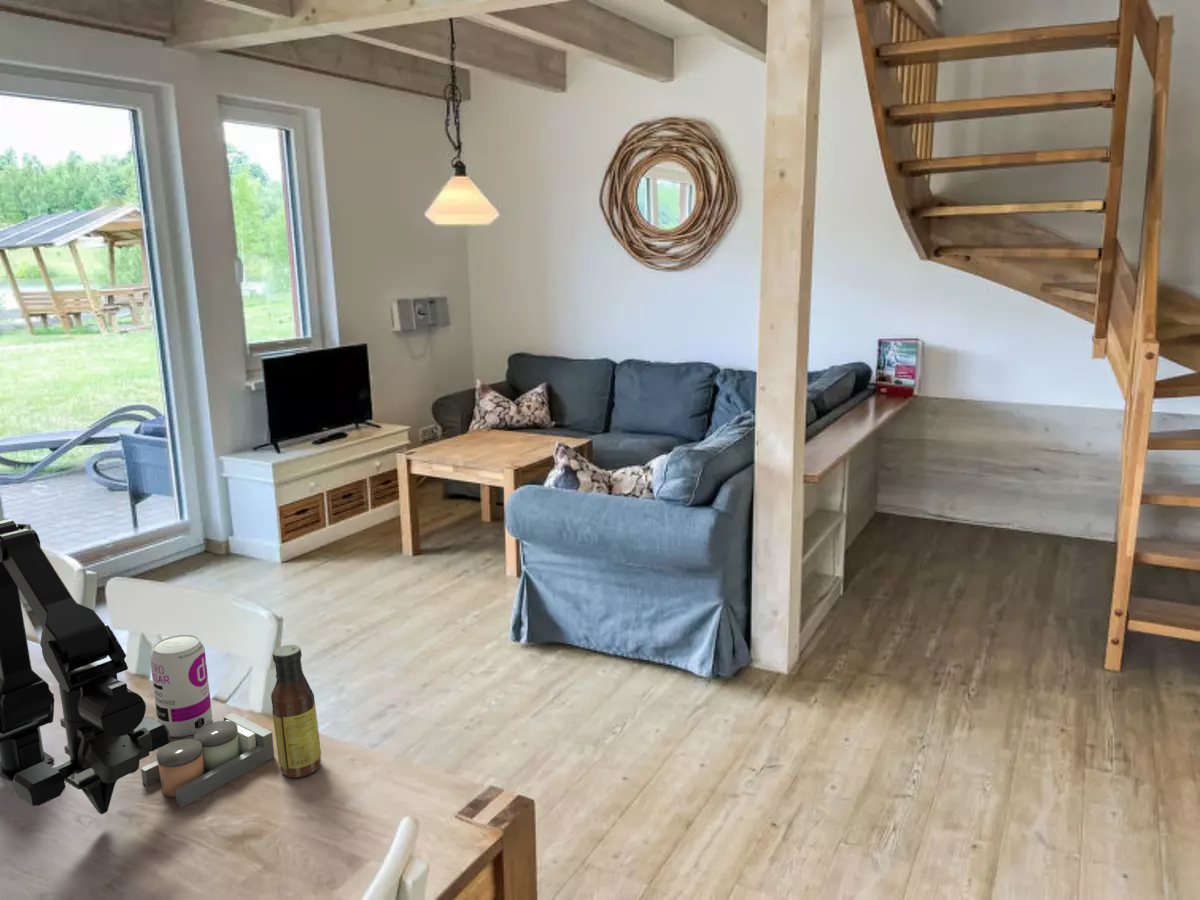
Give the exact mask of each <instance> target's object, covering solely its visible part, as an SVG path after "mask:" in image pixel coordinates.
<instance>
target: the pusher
mask: <svg viewBox="0 0 1200 900" xmlns="http://www.w3.org/2000/svg"><path fill="white" fill-rule="evenodd" d="M226 721H229V720H226ZM230 722H231V721H230ZM236 725H237V724H236ZM237 727H238V743H239V753H240V755H242V754H244V753H246V752H248V751H249V750H251V749H253V748H255V747H256V740H255V733H253V732H251V731H249V730H247V729H245V728H243V727H241V726H239V725H237Z"/></svg>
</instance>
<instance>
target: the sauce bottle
mask: <svg viewBox="0 0 1200 900" xmlns="http://www.w3.org/2000/svg"><path fill="white" fill-rule="evenodd" d="M302 653H303V652H302V650H301V648H300V646H298V645H296V644H288V645H282V646H279V647H277V648H275V649H274V650H273V651H272V660H273V662H274V664H275V678H276V681H275V685H274V687H273V689H272V691H271V695H270V699H271V704H272V705H271V706H272V719H273V727H274V735H275V741H276V743H275V744H276V750H277V751H276V752H277V758H278V763H279V765H280V768H279V769H280V771H281V773H282V774H283V775H285V776H287V777H289V778H302V777H307V776H309V775H311V774H313V773H315V772H316V771H317V770H318V769H319V768H320V767H321V760H322V758H321V756H322V749H321V741H320V733H319V724H318V723H319V722H318V718H317V717H318V716H317V710H316V709H317V708H316V700H315V695H314V692H313V691H312V688H311V686H310V685H309V682H308V680H307V679H306V676H305V675H304V673H303V672H304V671H303V667H302V657H303V656H302V655H303V654H302Z"/></svg>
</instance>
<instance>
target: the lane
mask: <svg viewBox="0 0 1200 900" xmlns="http://www.w3.org/2000/svg"><path fill="white" fill-rule="evenodd" d="M226 720H229V721H231V722H234V723H235V724H237V725H239V726H241V727H243V728H245V729H247V730H249V731H251V732H253V733H255V740H256V747H255V748H253V749H251V750H249V751H248V752H246V753H244V754H242V755H240V756H238V757H236V758H234V759H232V760H230V761H228V762H226V763H225V764H223V765H221V766H219V767H217V768H215V769H213V770H211V771H209V772H207V773H205V774H203V775H202V776H200V777H198V778H196V779H194V780H192V781H190V782H188V783H186V784H184V785H182V786H180V787H179V788H177V789H176V797H175V798H176V803H177V804H176V805H178V806H179V807H180V808H183V807H185V806H187V805H189V804H191V803H192V802H195V801H196V800H198V799H201V798H202V797H204V796H205V794H206V795H208V794H209V793H212V792H213V791H215V790H216V789H218V788H220V787H222V786H224V785H225V783H226V784H227V782H228V783H229V781H230V782H231V781H233V780H235V779H237V778H239V777H240V776H242V775H244V774H246V773H248V772H250V771H251V770H253V769H255V768H257V767H259V766H261V765H263V764H265V763H266V762H268V761H270V760H271V759H274V758H275V749H274V738H273V732H272V731H270V729H269V730H268V729H267V728H264V727H262V726H260V725H259V724H256V723H254V722H252V721H250V720H248V719H246V718H244V717H242V716H239V715H238V714H236V713H233V712H231V713H230V714H226V715H225V716H223V721H226ZM140 771H141V778H142V779H141V781H142V784H143V785H145V786H149V784H150V785H151V784H154V783H155V782H158V781H159V779H160V773H159V765H158V762H157V760H155V761H153V762H151V763H149V764H147V765H144V766H143V767H141V768H140ZM238 776H239V777H238ZM236 777H237V778H236ZM153 782H154V783H153ZM214 789H215V790H214ZM203 795H204V796H203Z"/></svg>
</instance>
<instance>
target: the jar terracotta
mask: <svg viewBox="0 0 1200 900" xmlns="http://www.w3.org/2000/svg"><path fill="white" fill-rule="evenodd" d="M202 752H203V749H202V744H201V742H200V741H198V740H195V739H194V738H183V739H178V740H177V739H176V740H173V741H170V742H169V744H166V745H164V746H162V747H160V748H158V751H157V752H156V761H157V762H158V765H159V773H160V786H161V787H160V788H161V792H162V794H164V795H165V796H166V797H171V798H173V797H174V798H177V797H176V789H177V788H179V787H180V786H182V785H184V784H186V783H188V782H190V781H192V780H194V779H196V778H198V777H200V776H202V775H203V774H205V772H204V764H203V755H202Z"/></svg>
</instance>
